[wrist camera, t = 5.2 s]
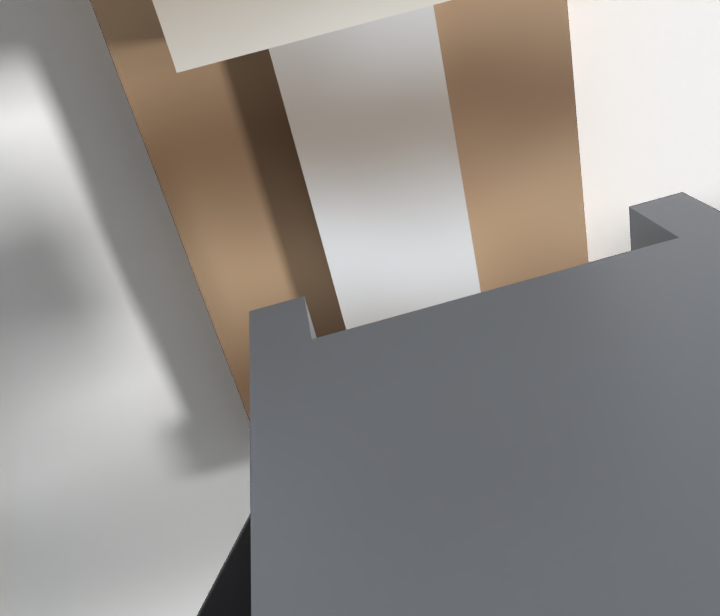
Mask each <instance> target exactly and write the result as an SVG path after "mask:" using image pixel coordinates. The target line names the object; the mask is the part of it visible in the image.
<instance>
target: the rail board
mask: <svg viewBox="0 0 720 616" xmlns="http://www.w3.org/2000/svg"><path fill="white" fill-rule="evenodd" d="M90 1H91V4H92V7H93V9H94V12H95V14H96V17H97V20H98V22H99V25H100V28H101V30H102V33H103V36H104V38H105V41H106V43H107V46H108V49H109V51H110V54H111V57H112V59H113V62H114V65H115V67H116V70H117V72H118V75H119V78H120V80H121V83H122V86H123V88H124V91H125V94H126V96H127V99H128V101H129V104H130V107H131V109H132V112H133V115H134V117H135V120H136V123H137V125H138V128H139V130H140V133H141V136H142V138H143V141H144V144H145V146H146V149H147V152H148V154H149V157H150V159H151V162H152V165H153V167H154V170H155V173H156V175H157V178H158V181H159V183H160V186H161V188H162V191H163V194H164V196H165V199H166V202H167V204H168V207H169V210H170V212H171V215H172V218H173V220H174V223H175V225H176V228H177V231H178V233H179V236H180V239H181V241H182V244H183V247H184V249H185V252H186V254H187V257H188V260H189V262H190V265H191V268H192V270H193V273H194V276H195V278H196V281H197V283H198V286H199V289H200V291H201V294H202V297H203V299H204V302H205V305H206V307H207V310H208V312H209V315H210V318H211V320H212V323H213V326H214V328H215V331H216V334H217V336H218V339H219V341H220V344H221V347H222V349H223V352H224V355H225V357H226V360H227V363H228V365H229V368H230V370H231V373H232V376H233V378H234V381H235V384H236V386H237V389H238V392H239V394H240V397H241V399H242V402H243V405H244V407H245V410H246V413H247V415H248V418H249V421H250V368H249V311H252V310H255V309H259V308H263V307H266V306H270V305H274V304H277V303H281V302H284V301H288V300H292V299H295V298H299V297H303V296H304V297H305V301H306V304H307V307H308V311H309V314H310V317H311V321H312V324H313V327H314V331H315V334H316V337H317V338H318V337H322V336H325V335H329V334H333V333H336V332H340V331H344V330H347V329H351V328H354V327H358V326H362V325H365V324H369V323H372V322H376V321H380V320H383V319H387V318H390V317H394V316H398V315H401V314H405V313H409V312H412V311H416V310H419V309H423V308H427V307H430V306H434V305H437V304H441V303H445V302H448V301H452V300H455V299H459V298H463V297H466V296H470V295H474V294H477V293H481V292H484V291H488V290H492V289H495V288H499V287H502V286H506V285H510V284H513V283H517V282H521V281H524V280H528V279H531V278H535V277H539V276H542V275H546V274H549V273H553V272H557V271H560V270H564V269H567V268H571V267H575V266H578V265H582V264H586V263H588V252H587V239H586V227H585V215H584V203H583V190H582V178H581V166H580V154H579V141H578V129H577V117H576V105H575V92H574V80H573V68H572V56H571V43H570V31H569V19H568V7H567V0H90Z"/></svg>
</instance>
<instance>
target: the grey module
mask: <svg viewBox="0 0 720 616" xmlns="http://www.w3.org/2000/svg"><path fill="white" fill-rule="evenodd" d="M629 215H630V236H631V251H629V252H625V253H622V254H618V255H614V256H611V257H607V258H604V259H600V260H596V261H593V262H589V263H586V264H582V265H578V266H575V267H571V268H567V269H564V270H560V271H557V272H553V273H549V274H546V275H542V276H539V277H535V278H531V279H528V280H524V281H521V282H517V283H513V284H510V285H506V286H502V287H499V288H495V289H492V290H488V291H484V292H481V293H477V294H474V295H470V296H466V297H463V298H459V299H455V300H452V301H448V302H445V303H441V304H437V305H434V306H430V307H427V308H423V309H419V310H416V311H412V312H409V313H405V314H401V315H398V316H394V317H390V318H387V319H383V320H380V321H376V322H372V323H369V324H365V325H362V326H358V327H354V328H351V329H347V330H344V331H340V332H336V333H333V334H329V335H325V336H322V337H318V338H317V337H316V334H315V331H314V327H313V324H312V321H311V317H310V314H309V311H308V307H307V304H306V301H305V297H304V296H303V297H299V298H295V299H292V300H288V301H284V302H281V303H277V304H274V305H270V306H266V307H263V308H259V309H255V310H252V311H249V368H250V506H251V616H720V211H719V210H717V209H715V208H713V207H711V206H709V205H707V204H705V203H703V202H701V201H699V200H697V199H695V198H693V197H691V196H689V195H687V194H685V193H683V192H681V193H677V194H674V195H670V196H666V197H663V198H659V199H656V200H652V201H648V202H645V203H641V204H637V205H634V206H630V207H629Z"/></svg>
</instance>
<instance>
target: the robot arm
mask: <svg viewBox="0 0 720 616" xmlns="http://www.w3.org/2000/svg"><path fill="white" fill-rule="evenodd" d="M197 616H251V513H250V515H249V517H248V519H247V521H246V523H245V524H244V526H243V528H242V530H241V532H240V534H239V536H238V538H237V540H236V542H235V544H234V546H233V547H232V549H231V551H230V553H229V555H228V557H227V559H226V561H225V563H224V565H223V567H222V569H221V570H220V572H219V574H218V576H217V578H216V580H215V582H214V584H213V586H212V588H211V590H210V592H209V593H208V595H207V597H206V599H205V601H204V603H203V605H202V607H201V609H200V611H199V613H198V615H197Z"/></svg>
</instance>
